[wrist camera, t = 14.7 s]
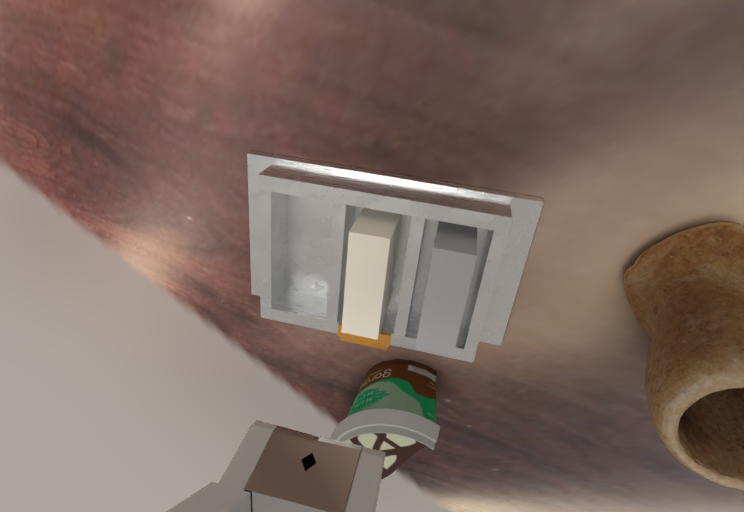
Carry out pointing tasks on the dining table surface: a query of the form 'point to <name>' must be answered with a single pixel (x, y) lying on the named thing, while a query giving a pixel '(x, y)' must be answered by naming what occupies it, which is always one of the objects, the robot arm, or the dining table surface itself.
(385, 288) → the beige rectangular block
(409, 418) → the food container
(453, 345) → the gray rectangular block
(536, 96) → the dining table surface
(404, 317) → the rack
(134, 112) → the dining table surface
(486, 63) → the dining table surface
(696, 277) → the stone cup
